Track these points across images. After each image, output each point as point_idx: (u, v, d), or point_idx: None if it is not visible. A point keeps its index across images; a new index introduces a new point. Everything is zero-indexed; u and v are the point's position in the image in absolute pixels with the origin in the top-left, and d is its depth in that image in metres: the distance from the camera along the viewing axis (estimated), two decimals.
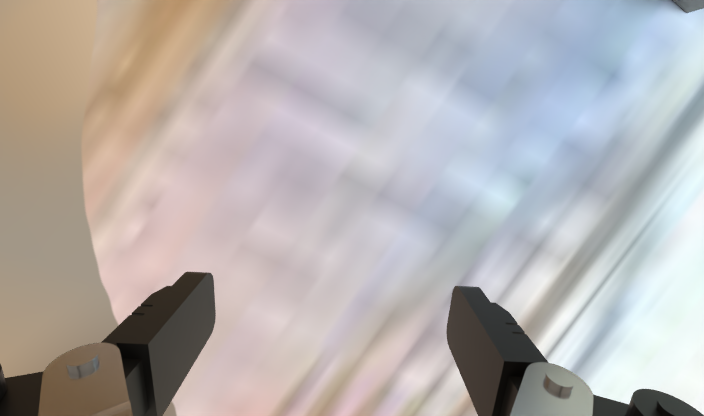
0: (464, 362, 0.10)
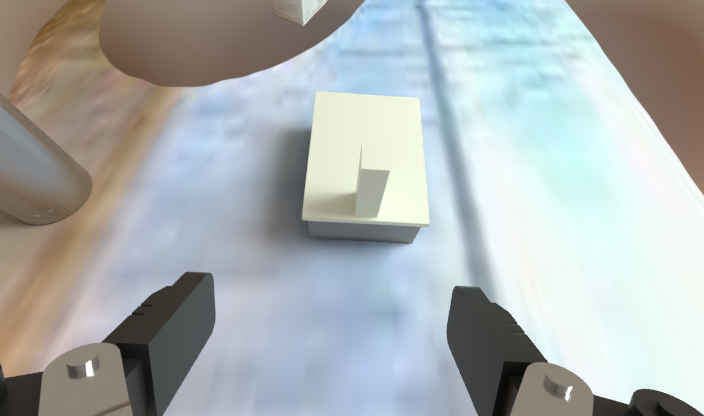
0: (464, 362, 0.10)
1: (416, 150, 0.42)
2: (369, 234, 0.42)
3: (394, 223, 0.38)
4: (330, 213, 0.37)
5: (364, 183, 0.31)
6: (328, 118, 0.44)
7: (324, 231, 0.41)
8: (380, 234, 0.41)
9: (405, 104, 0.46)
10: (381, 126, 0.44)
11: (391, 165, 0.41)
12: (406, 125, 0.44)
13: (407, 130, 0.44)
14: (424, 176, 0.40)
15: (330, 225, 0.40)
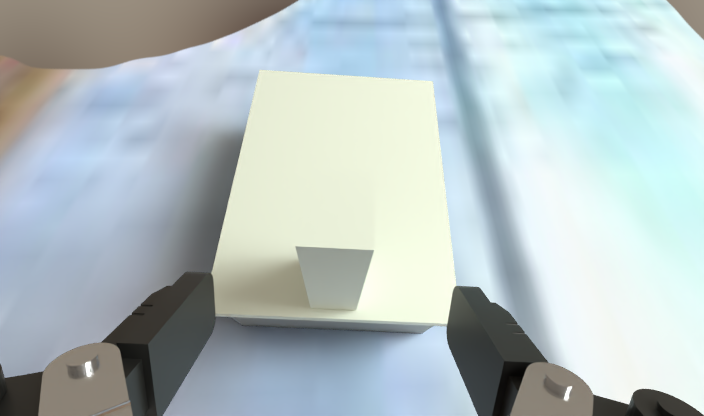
0: (464, 362, 0.10)
1: (430, 172, 0.23)
2: (345, 324, 0.23)
3: (390, 322, 0.19)
4: (261, 303, 0.19)
5: (313, 270, 0.13)
6: (276, 115, 0.25)
7: (263, 321, 0.23)
8: (366, 325, 0.23)
9: (409, 91, 0.27)
10: (367, 128, 0.25)
11: (385, 200, 0.22)
12: (412, 127, 0.25)
13: (413, 136, 0.25)
14: (446, 222, 0.22)
15: None
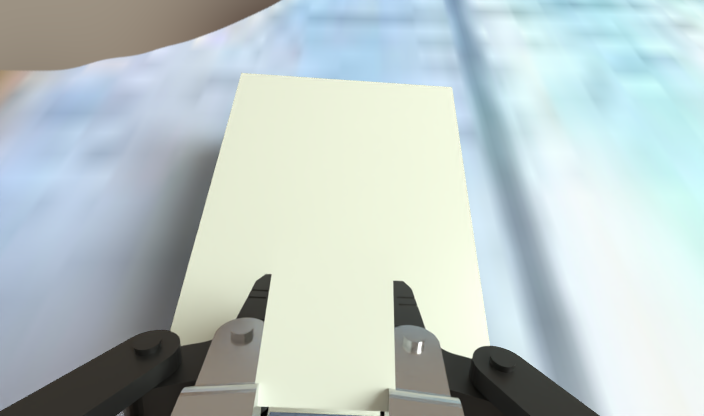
0: None
1: (453, 204, 0.18)
2: None
3: None
4: None
5: None
6: (259, 129, 0.20)
7: None
8: None
9: (424, 100, 0.22)
10: (373, 146, 0.20)
11: (396, 242, 0.17)
12: (428, 144, 0.20)
13: (429, 156, 0.20)
14: (475, 271, 0.17)
15: None
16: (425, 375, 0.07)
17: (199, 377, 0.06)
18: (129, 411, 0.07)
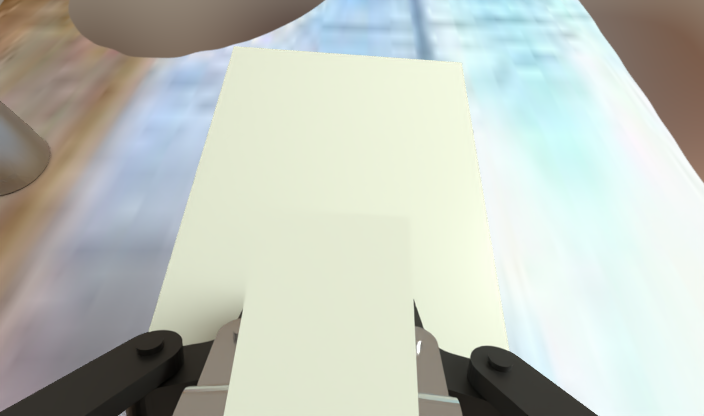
0: None
1: (464, 186, 0.17)
2: None
3: None
4: None
5: None
6: (253, 105, 0.19)
7: None
8: None
9: (432, 75, 0.20)
10: (377, 124, 0.18)
11: None
12: (436, 122, 0.19)
13: (438, 134, 0.18)
14: (490, 258, 0.15)
15: None
16: (423, 375, 0.07)
17: (202, 377, 0.06)
18: (132, 411, 0.07)
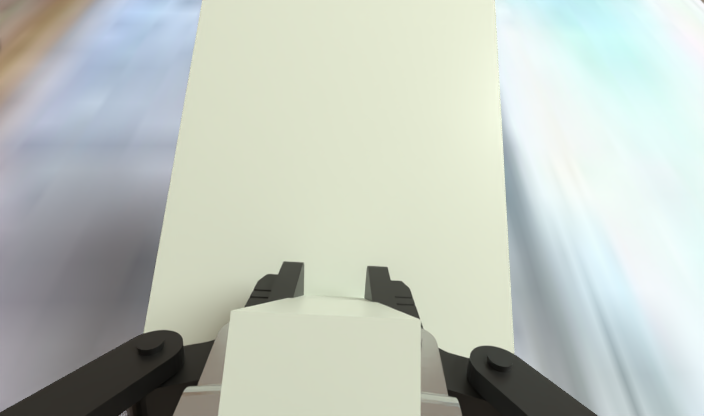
0: None
1: (482, 150, 0.15)
2: None
3: None
4: None
5: None
6: (238, 46, 0.16)
7: None
8: None
9: (455, 1, 0.17)
10: (386, 70, 0.16)
11: (410, 200, 0.14)
12: (456, 67, 0.16)
13: (457, 84, 0.16)
14: (504, 235, 0.14)
15: None
16: (422, 374, 0.07)
17: (202, 377, 0.06)
18: (132, 411, 0.07)
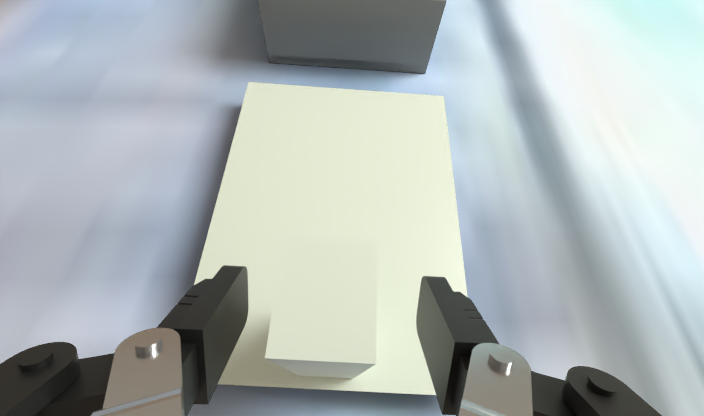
0: (428, 347, 0.10)
1: (441, 204, 0.20)
2: (359, 46, 0.27)
3: None
4: (240, 369, 0.16)
5: (295, 366, 0.10)
6: (265, 135, 0.22)
7: (288, 39, 0.26)
8: (377, 45, 0.26)
9: (418, 108, 0.24)
10: (369, 151, 0.22)
11: (389, 239, 0.19)
12: (420, 149, 0.22)
13: (421, 160, 0.22)
14: (461, 265, 0.18)
15: (296, 18, 0.25)
16: (507, 397, 0.06)
17: (106, 400, 0.06)
18: None
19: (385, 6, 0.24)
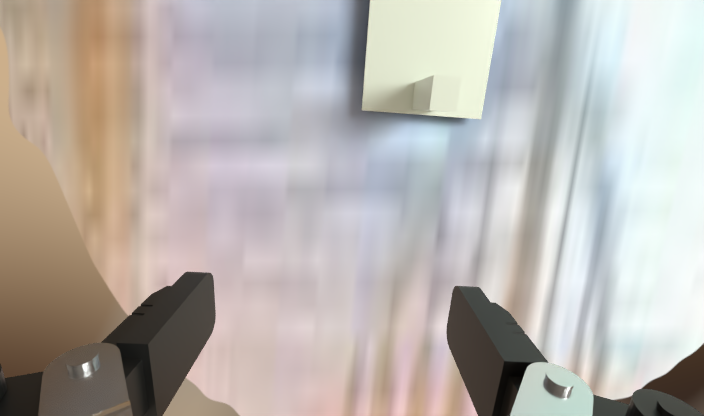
0: (464, 362, 0.10)
1: (488, 24, 0.37)
2: None
3: (447, 116, 0.40)
4: (388, 106, 0.39)
5: (428, 110, 0.33)
6: None
7: None
8: None
9: None
10: None
11: (456, 46, 0.38)
12: None
13: None
14: (489, 61, 0.38)
15: None
16: None
17: None
18: None
19: None
